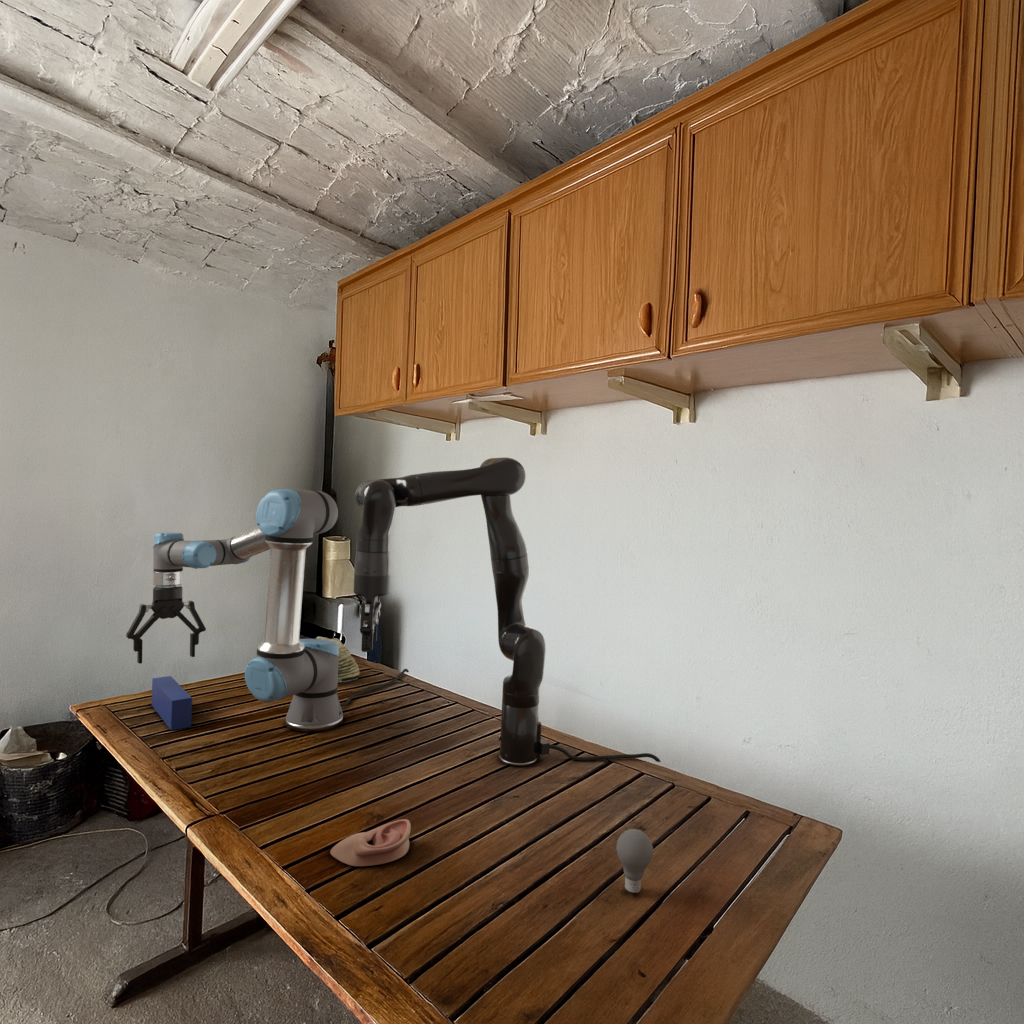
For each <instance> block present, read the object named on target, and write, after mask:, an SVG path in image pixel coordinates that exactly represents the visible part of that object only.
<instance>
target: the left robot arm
mask: <svg viewBox="0 0 1024 1024" xmlns="http://www.w3.org/2000/svg"><path fill="white" fill-rule="evenodd" d="M338 517H339V510H338V505H337V503H336V501H335V500H334V498H333V497H332V496H331V495H329V494H328V493H326V492H324V491H321V490H313V489H312V490H309V489H293V488H281V489H273V490H271V491H268V492H267V493H266V494H265V496H263V497H262V498H261V500H259V503H258V505H257V508H256V512H255V521H256V525H257V526H254V527H252V528H250V529H248V530H246V531H242V532H241V533H238V534H236V535H234V536H231V537H229V538H224V539H205V540H185V539H184V534H183V533H182V532H171V531H170V532H169V531H167V532H157V533H156V534H154V539H153V546H152V548H153V551H152V553H153V555H152V556H153V562H152V564H153V566H152V567H153V568H152V569H153V571H152V572H153V573H152V574H153V575H152V577H153V578H152V585H153V587H152V603H151V604H145V603H140V605H139V607H138V608H139V610H138V613H137V614H136V616H135V618H134V620H133V622H132V623H131V625H130V626H129V628H128V630H127V632H126V634H125V638H127V639H128V640H132V641H133V643H132V645H133V646H132V650H133V651H134V652H135V653H137V655H136V656H137V657H136V658H137V661H136V662H137V663H138V664H143V639H142V637H143V636H144V635H145V634H146V632H147V631H148V630H150V628H151V627H152V626H153V625H154V624H155V622H157V621H158V620H159V619H161V620H165V619H174V618H176V617H177V618H178V619H179V620H181V621H182V623H183V624H184V625H185V626H186V627H187V628H188V629H189V630H190V631H191V632H192V633H191V632H190V633H189V656H190V658H195V657H196V646H197V645H199V644H200V634H201V633H203V632H206V631H207V628H206V626H205V623H204V622H203V620H202V619H201V617H200V615H199V613H198V611H197V610H196V606H195V602H194V601H193V600H187V601H184V600H183V591H184V590H183V586H182V585H183V583H184V581H183V580H184V579H183V578H184V577H183V574H184V573H183V572H184V568H191V569H195V570H197V569H206V568H209V567H217V566H224V565H225V566H226V565H227V566H228V565H240V564H244V563H247V562H249V561H250V559H251V558H252V557H254V556H256V555H259V554H261V553H264V552H266V551H270V552H269V565H268V579H267V593H266V605H265V620H264V621H265V622H264V632H263V640H262V641H261V642H260V643H259V644H258V645H257V646H256V656H255V657H254V658H252V659H251V660H250V661H249V662H248V663H247V664H246V666H245V670H244V680H245V684H246V687H247V689H248V690H249V691H250V694H251V695H252V696H253V697H254V698H255V699H256V700H258V701H260V702H263V703H272V702H273V703H274V702H276V701H282V700H284V699H286V698H288V697H291V696H293V697H292V699H291V702H289V705H288V711H287V713H286V715H285V726H286V728H287V729H289V730H291V731H294V732H295V731H296V732H301V733H316V732H325V731H329V730H332V729H335V728H337V727H339V726H340V725H342V723H343V722H344V714H343V709H342V707H345V706H347V705H348V704H349V703H350V702H351V701H352V699H354V698H356V697H359V696H361V695H364V694H367V693H370V692H373V691H376V690H380V689H381V688H384V687H387V686H390V685H392V684H393V683H395V682H397V681H398V680H399V679H400V678H401V677H402V676H403V675H404V674H405V673H409V672H410V671H409V669H408V668H404V669H403V670H402V671H401V672H400V673H401V674H400V673H399V674H398V675H397V676H396V677H395V678H393V679H391V680H390V681H388V682H385V683H383V684H380V685H377V686H374V687H371V688H368V689H364V690H361V691H358V692H356V693H353V694H351V695H350V696H349V697H348V698H347V700H346V701H345V702H340V699H339V695H338V664H339V647H338V645H337V643H335V642H333V641H329V640H322V639H316V638H300V636H301V635H300V634H301V633H300V632H301V620H302V607H303V606H302V605H303V593H304V580H305V579H304V578H305V568H306V567H305V565H306V552H307V549H308V548H309V547H310V546H311V545H312V544H313V541H314V537H315V536H317V535H320V534H323V533H327V532H328V531H329V530H331V529H332V528H333V527H335V524H336V523H337V521H338ZM184 607H185V608H186V609H188V611H189V613H190V615H191V616H192V619H193V620H194V621H195V623H196V625H197V627H196V626H195V624H193V623H192V622H191V621H190V620H189V619H188V618H187V617H186V616H185V615H184V614H183V613H182V610H183V609H184ZM149 610H151V611H152V614H151V615H150V617H149V618H148V619H147V620H146V621H145V622H144V623H143V624H142V626H141V627H140V628H139V626H140V624H141V622H142V620H143V619H144V617H145V616H146V613H148V612H149ZM138 628H139V629H138ZM137 629H138V630H137Z"/></svg>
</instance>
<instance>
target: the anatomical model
mask: <svg viewBox="0 0 1024 1024" xmlns="http://www.w3.org/2000/svg"><path fill="white" fill-rule="evenodd" d="M411 825H412V824H411V822H410V820H409V819H406V818H404V819H403V818H402V819H396V820H394V821H391V822H387V823H385V824H382V825H380V826H377V827H375V828H373V829H370V830H367V831H363V832H358V833H354V834H352V835H349V836H348V837H345V838H344V839H342V840H341V841H339V842H338V843H336V844H335V845H334V846H332V848H331V849H330V850H329V851H330V852H329V854H330V855H331V856H332V857H333V858H334V859H335V860H337V861H339V862H341V863H342V864H344V865H345V864H346V865H347V866H351V867H368V866H369V867H370V866H377V865H383V864H387V863H391V862H394V861H397V860H399V859H400V858H402V857H404V856H405V855H406V854H407V853H408V852H409V849H410V839H409V837H410V834H411V830H412V829H411V828H412V826H411Z"/></svg>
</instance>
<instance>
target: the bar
mask: <svg viewBox="0 0 1024 1024" xmlns="http://www.w3.org/2000/svg"><path fill="white" fill-rule="evenodd" d="M151 681H152V682H151V685H152V686H151V706H152V707H153V709H154V710H155V712H156V713H157V714H158V716H159V717H160V718H161V720H162V721H163V722H164V723H165V725H166V727H168V729H169V730H170V731H176V730H180V729H186V728H192V711H193V710H192V709H193V697H192V696H191V695H190V694H189V692H187V691H186V690H185V689H184V688H183V687H182V686H181V685H180V684H179V683H178V682H177V681H176V679H175V678H173V677H172V676H171V675H168V676H161V677H153V678H152V680H151Z"/></svg>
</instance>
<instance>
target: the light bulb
mask: <svg viewBox="0 0 1024 1024" xmlns="http://www.w3.org/2000/svg"><path fill="white" fill-rule="evenodd" d="M615 849H616V854H617V857H618V859H619V861H620V863H621V865H622V867H623V873H624V874H623V875H624V876H625V878H624V888H625V890H627V891H628V892H630V893H634V894H635V893H639V892H640V891H641V889H642V887H641V886H642V879H643V877H644V875H645V871H646V868H647V867H648V866H649V864H650V863H651V861H652V859H653V855H654V847H653V843H652V841H651V838H649V836H648V835H647V834H646V833H645V832H643V831H642V830H641V829H636V828H629V829H627V830H625V831H623V832H622V833H621V834H620V835H619V837H618V839H617V841H616V847H615Z"/></svg>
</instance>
